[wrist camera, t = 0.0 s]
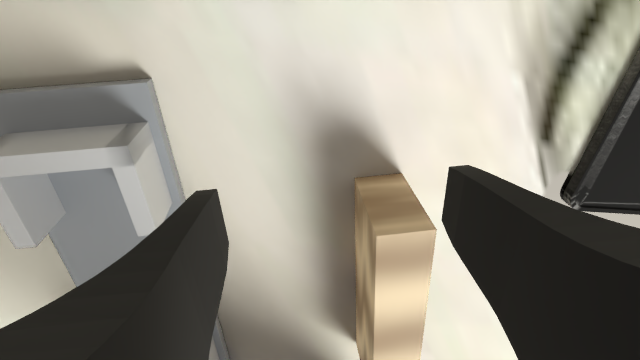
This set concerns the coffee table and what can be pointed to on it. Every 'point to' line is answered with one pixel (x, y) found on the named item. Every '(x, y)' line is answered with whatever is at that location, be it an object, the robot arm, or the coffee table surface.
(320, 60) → the coffee table surface
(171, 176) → the end cap cradle
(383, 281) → the oak slat
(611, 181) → the phone
